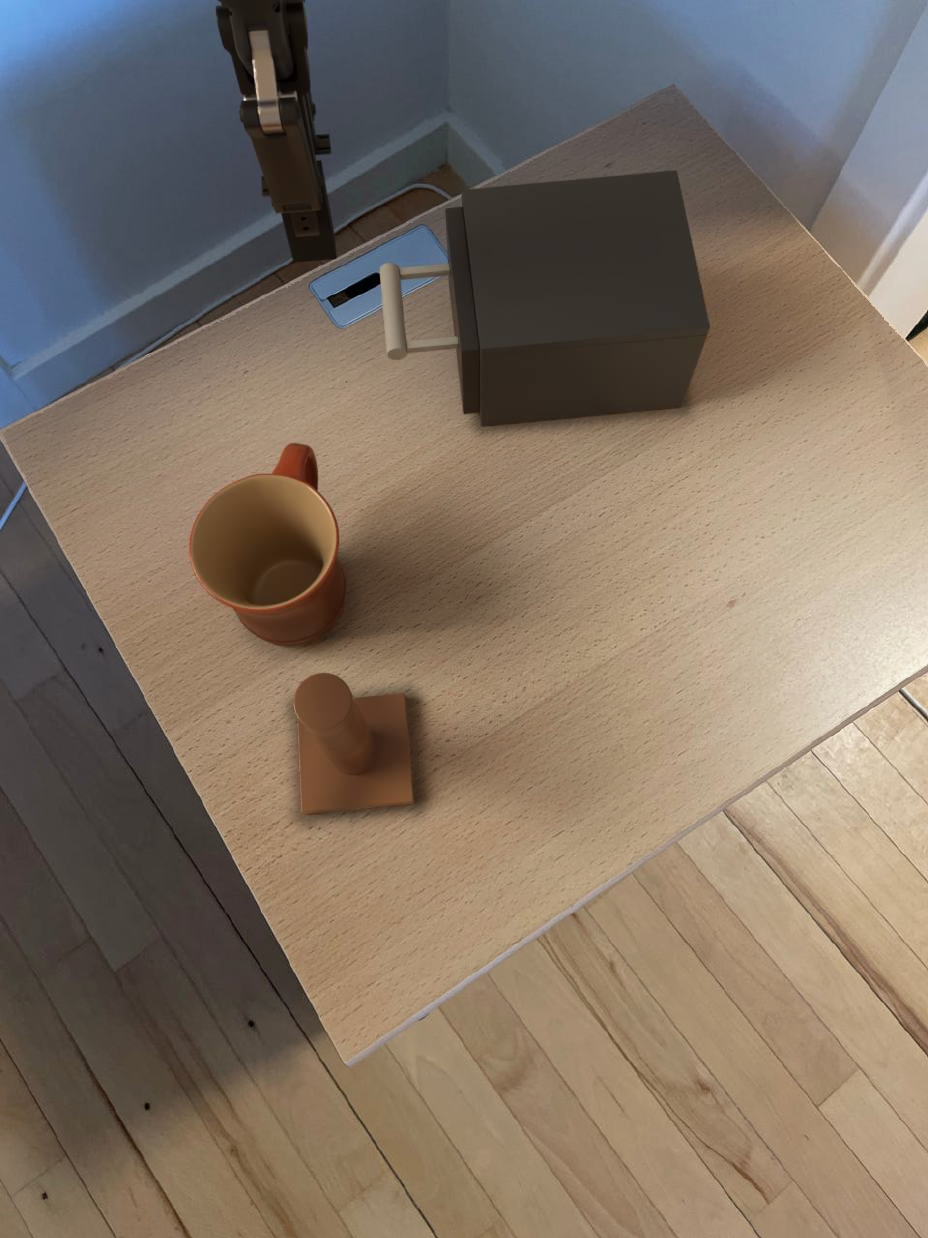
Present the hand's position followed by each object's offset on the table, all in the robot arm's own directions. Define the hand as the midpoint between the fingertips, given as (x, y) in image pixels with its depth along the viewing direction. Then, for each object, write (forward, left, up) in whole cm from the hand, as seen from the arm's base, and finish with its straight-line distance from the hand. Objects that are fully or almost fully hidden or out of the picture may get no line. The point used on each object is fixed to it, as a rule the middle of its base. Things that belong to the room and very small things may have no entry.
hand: (314, 250), depth 61 cm
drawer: (+10, +8, -12) cm, 17 cm away
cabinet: (+14, +10, -12) cm, 21 cm away
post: (+18, -24, -12) cm, 32 cm away
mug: (+8, -16, -13) cm, 21 cm away
